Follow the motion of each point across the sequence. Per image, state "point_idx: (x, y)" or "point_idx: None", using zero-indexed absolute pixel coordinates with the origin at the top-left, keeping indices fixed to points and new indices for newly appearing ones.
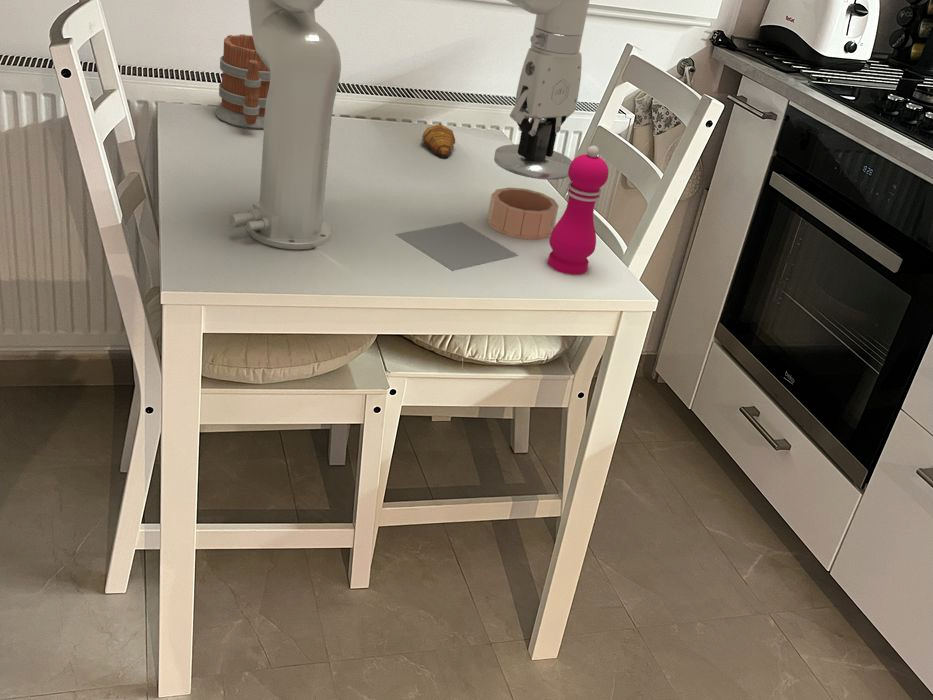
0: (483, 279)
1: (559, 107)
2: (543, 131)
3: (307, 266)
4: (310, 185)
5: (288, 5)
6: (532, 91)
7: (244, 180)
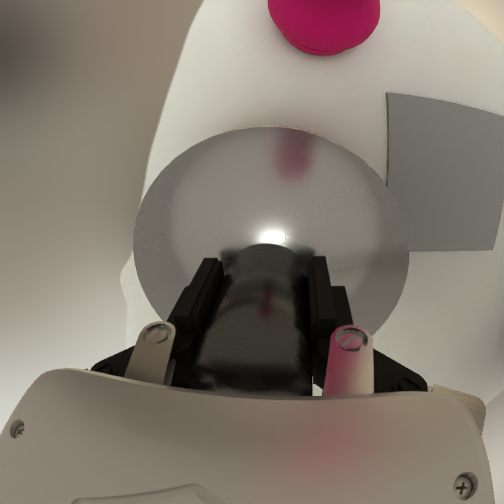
0: (484, 75)
1: (171, 458)
2: (279, 335)
3: None
4: None
5: None
6: None
7: (468, 391)
